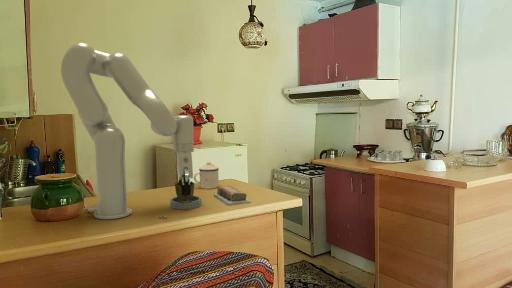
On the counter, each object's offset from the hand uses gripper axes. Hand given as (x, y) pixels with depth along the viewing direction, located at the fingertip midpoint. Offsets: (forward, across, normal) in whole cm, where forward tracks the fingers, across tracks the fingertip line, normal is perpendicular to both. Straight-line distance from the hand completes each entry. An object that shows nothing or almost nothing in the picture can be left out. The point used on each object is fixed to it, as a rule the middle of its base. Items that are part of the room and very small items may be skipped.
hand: (184, 192), depth 151 cm
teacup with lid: (+5, +29, -14) cm, 33 cm away
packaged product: (+6, +4, -19) cm, 20 cm away
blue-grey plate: (+5, 0, 0) cm, 5 cm away
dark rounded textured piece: (+4, 0, 0) cm, 5 cm away
